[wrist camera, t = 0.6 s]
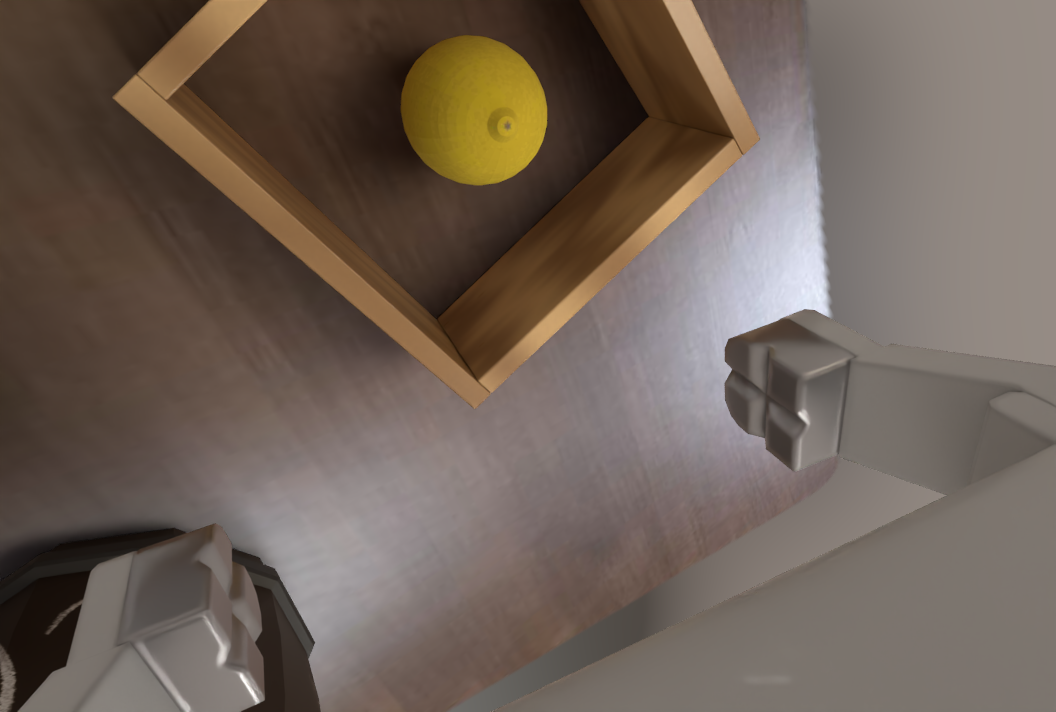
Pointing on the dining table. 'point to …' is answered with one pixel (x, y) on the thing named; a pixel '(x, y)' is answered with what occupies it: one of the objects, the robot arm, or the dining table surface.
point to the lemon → (474, 110)
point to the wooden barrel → (55, 602)
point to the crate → (544, 251)
